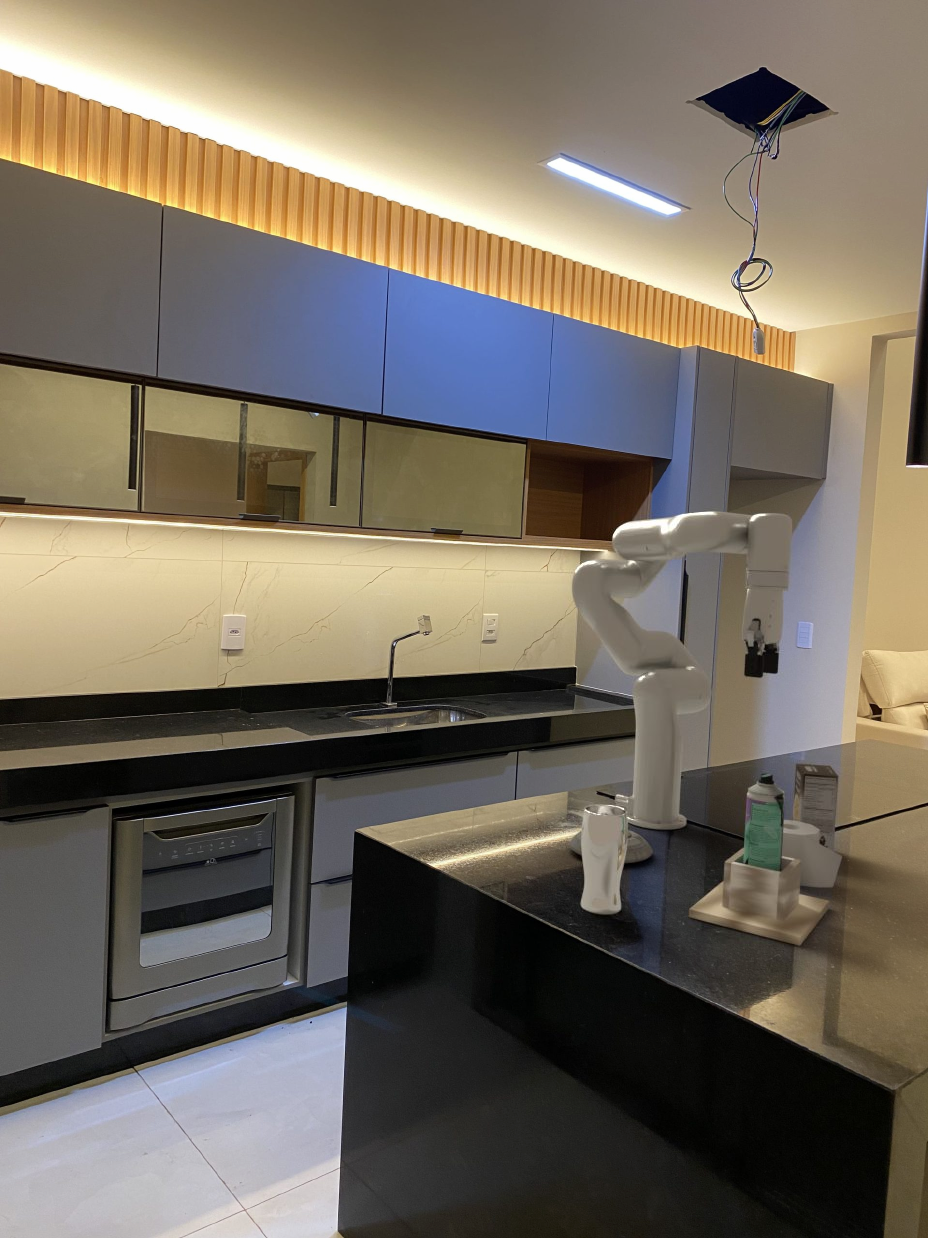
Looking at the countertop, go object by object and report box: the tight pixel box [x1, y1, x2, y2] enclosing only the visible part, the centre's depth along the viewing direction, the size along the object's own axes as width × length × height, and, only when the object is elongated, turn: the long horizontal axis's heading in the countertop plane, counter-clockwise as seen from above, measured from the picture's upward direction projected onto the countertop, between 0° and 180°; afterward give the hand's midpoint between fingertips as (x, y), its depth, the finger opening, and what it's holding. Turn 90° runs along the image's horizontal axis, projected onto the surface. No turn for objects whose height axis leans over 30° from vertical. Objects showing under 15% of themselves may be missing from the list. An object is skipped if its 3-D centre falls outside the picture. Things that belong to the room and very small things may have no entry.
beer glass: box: [580, 803, 629, 915], centre depth 136 cm, size 7×7×15 cm
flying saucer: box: [568, 829, 654, 864], centre depth 163 cm, size 15×15×6 cm
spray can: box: [743, 772, 786, 872], centre depth 137 cm, size 6×6×20 cm
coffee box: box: [792, 763, 840, 851], centre depth 168 cm, size 9×6×16 cm
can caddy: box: [688, 847, 830, 946], centre depth 137 cm, size 16×18×8 cm
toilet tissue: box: [782, 819, 843, 888], centre depth 154 cm, size 9×13×9 cm
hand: (761, 675), depth 165 cm, fingers open, 9 cm apart
